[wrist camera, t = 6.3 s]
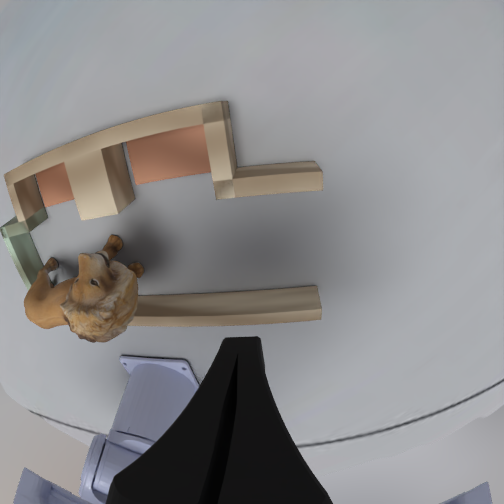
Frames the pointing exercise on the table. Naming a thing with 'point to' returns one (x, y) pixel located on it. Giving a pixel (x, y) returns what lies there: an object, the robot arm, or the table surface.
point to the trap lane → (154, 169)
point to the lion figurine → (87, 296)
